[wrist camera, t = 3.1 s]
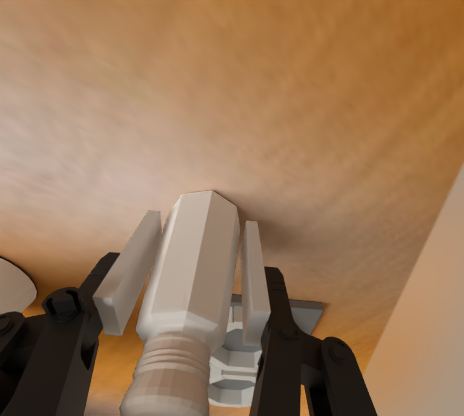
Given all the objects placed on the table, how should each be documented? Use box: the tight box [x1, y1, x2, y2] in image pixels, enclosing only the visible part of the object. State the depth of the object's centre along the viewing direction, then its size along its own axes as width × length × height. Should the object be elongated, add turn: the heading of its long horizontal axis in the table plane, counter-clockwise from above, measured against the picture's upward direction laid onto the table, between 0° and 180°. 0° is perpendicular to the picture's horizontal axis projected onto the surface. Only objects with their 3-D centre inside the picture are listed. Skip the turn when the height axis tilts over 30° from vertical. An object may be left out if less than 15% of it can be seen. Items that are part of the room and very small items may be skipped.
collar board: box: [207, 295, 323, 408], centre depth 25 cm, size 20×13×2 cm, turn 173°
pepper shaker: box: [119, 190, 240, 416], centre depth 11 cm, size 5×5×11 cm
